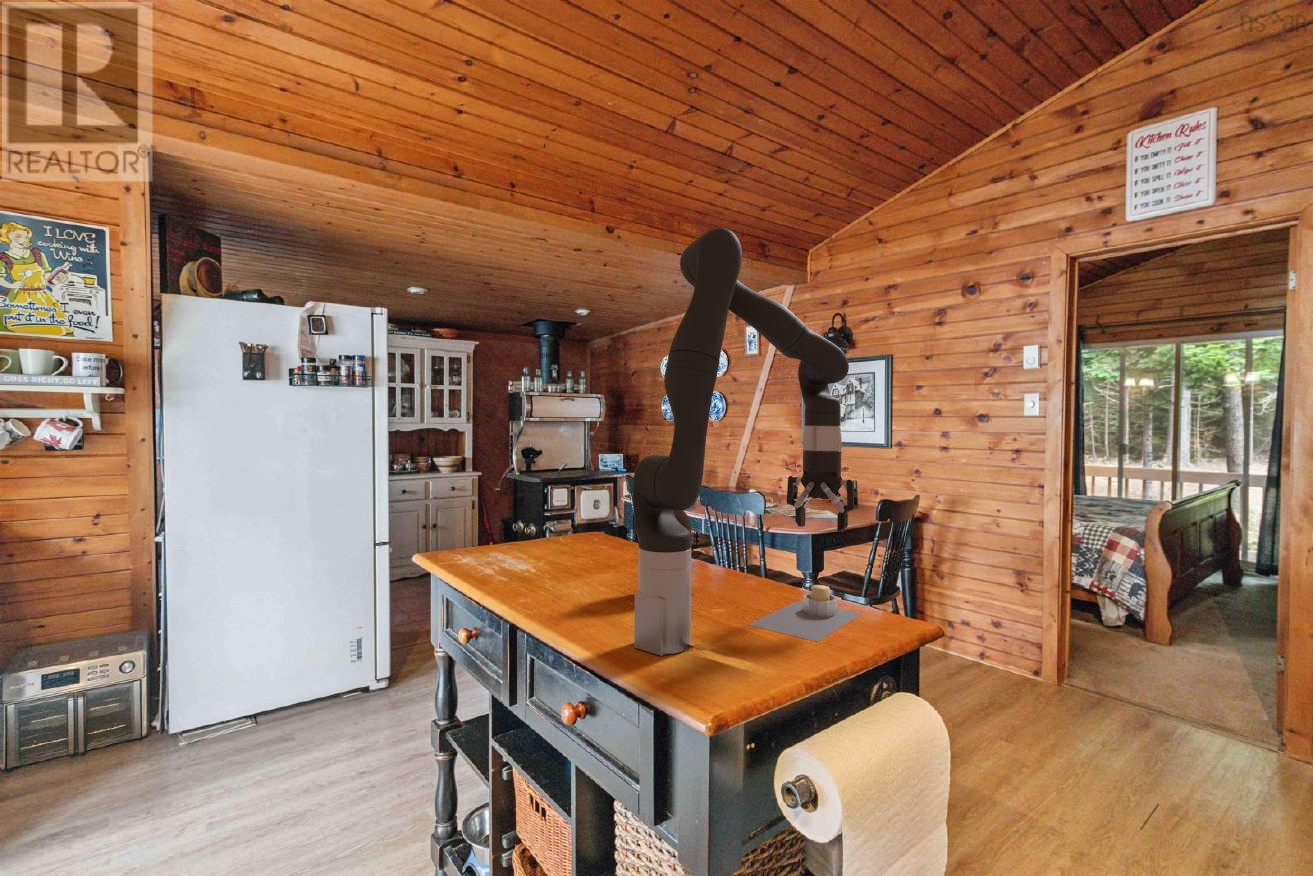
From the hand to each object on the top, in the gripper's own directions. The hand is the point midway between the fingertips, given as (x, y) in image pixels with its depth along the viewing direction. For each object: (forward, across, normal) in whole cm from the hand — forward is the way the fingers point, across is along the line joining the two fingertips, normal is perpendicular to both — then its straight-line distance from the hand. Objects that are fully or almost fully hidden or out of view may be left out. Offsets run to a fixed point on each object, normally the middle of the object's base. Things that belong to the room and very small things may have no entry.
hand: (820, 528), depth 122 cm
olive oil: (+18, -34, -7) cm, 39 cm away
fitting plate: (+18, 0, -6) cm, 19 cm away
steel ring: (+17, 0, 0) cm, 17 cm away
